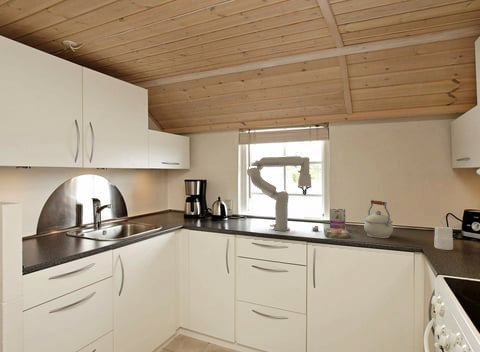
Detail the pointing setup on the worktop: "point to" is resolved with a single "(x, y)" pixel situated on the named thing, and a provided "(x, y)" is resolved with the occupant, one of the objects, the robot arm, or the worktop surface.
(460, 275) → the worktop surface
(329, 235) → the caddy
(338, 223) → the candy bar box
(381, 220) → the kettle
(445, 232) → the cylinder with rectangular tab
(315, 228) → the shiny gray cylinder
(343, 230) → the tray
